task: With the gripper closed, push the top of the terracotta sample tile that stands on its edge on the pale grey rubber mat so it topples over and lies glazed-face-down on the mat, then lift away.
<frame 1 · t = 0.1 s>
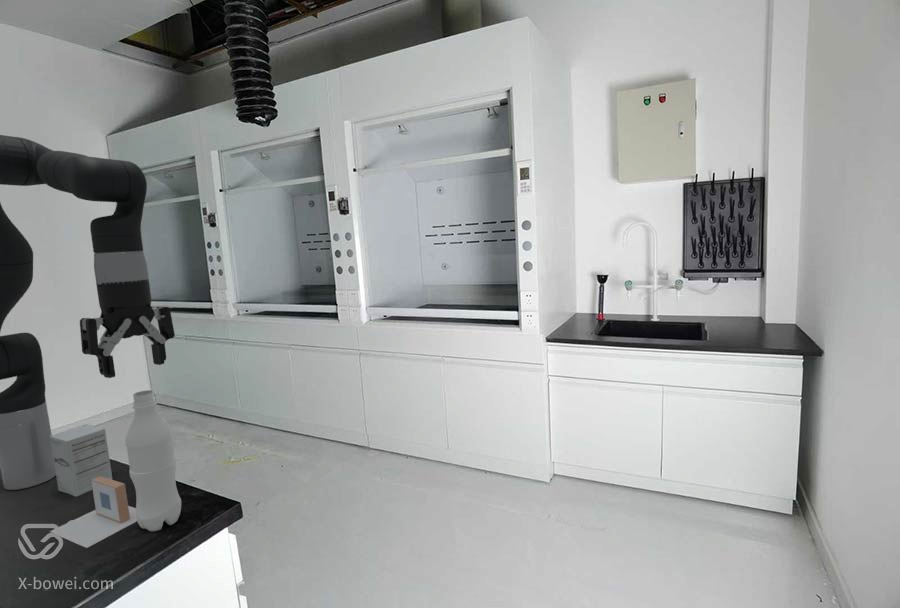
hand: (135, 370, 84), 29 cm above the counter, tool pointing down, fingers open, 8 cm apart
supplement box: (86, 488, 104), on the counter
tile: (113, 516, 91), resting on mat
mat: (101, 524, 89), on the counter
water bottle: (161, 524, 88), on the counter
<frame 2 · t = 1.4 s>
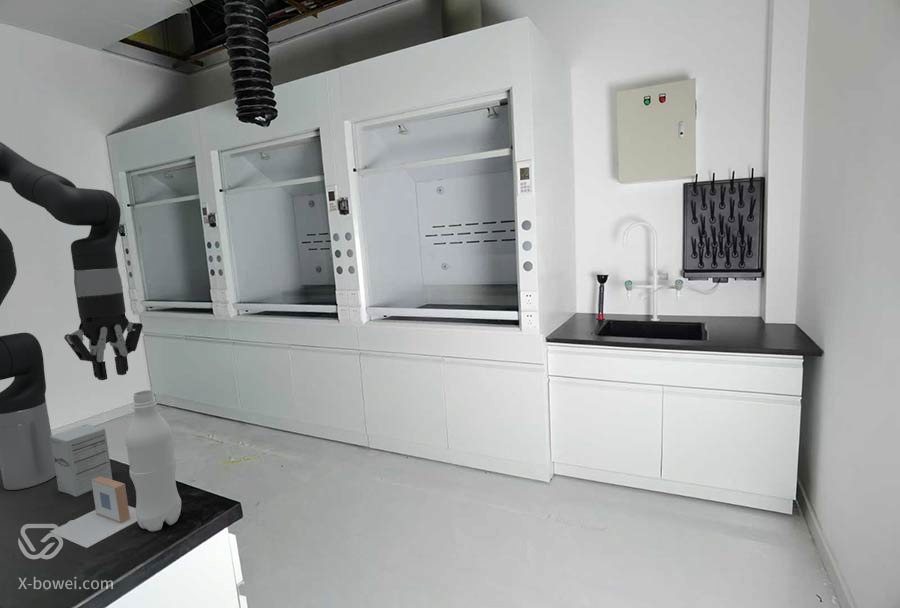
hand: (112, 376, 97), 25 cm above the counter, tool pointing down, fingers open, 3 cm apart
nothing on the counter moved.
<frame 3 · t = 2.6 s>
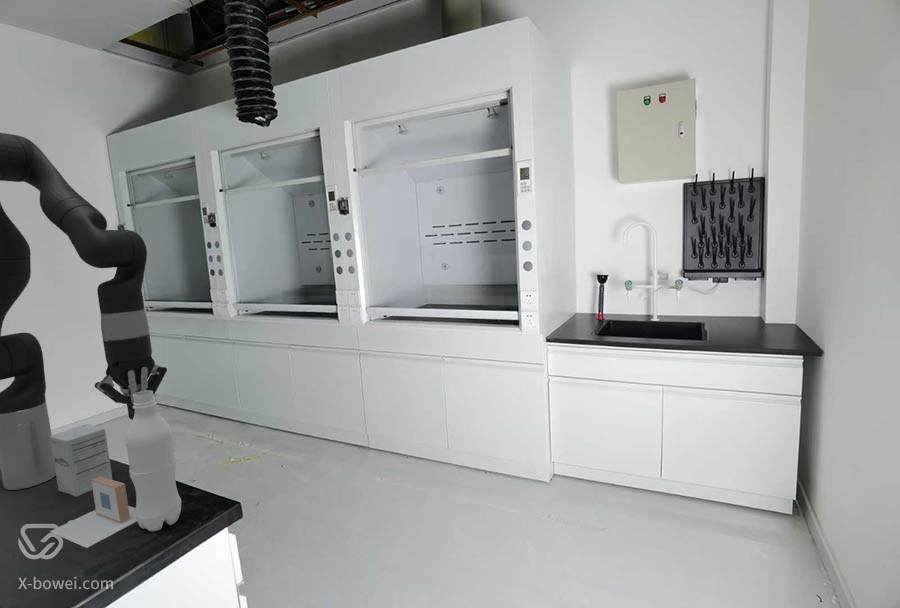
hand: (138, 420, 95), 17 cm above the counter, tool pointing down, fingers closed
nothing on the counter moved.
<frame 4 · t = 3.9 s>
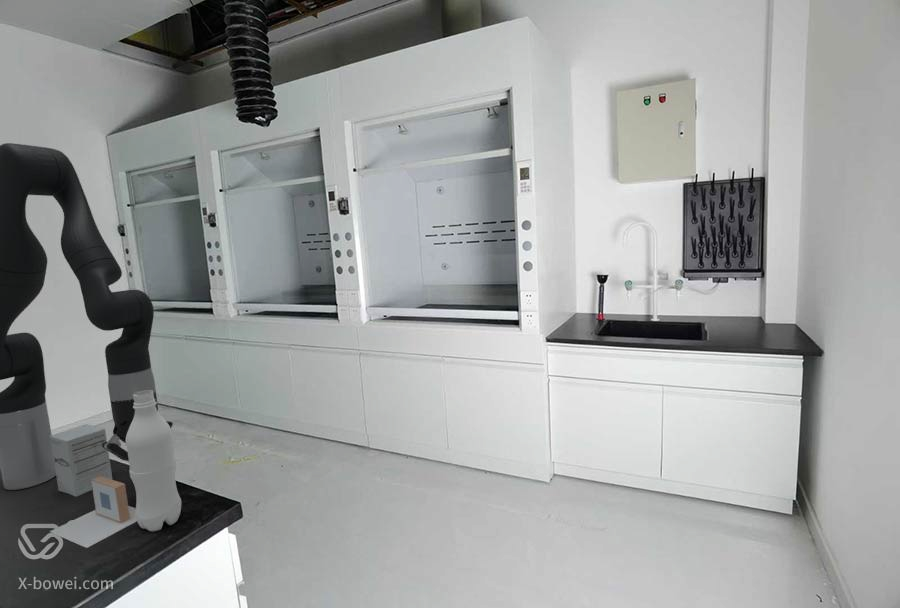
hand: (144, 475, 96), 5 cm above the counter, tool pointing down, fingers closed
nothing on the counter moved.
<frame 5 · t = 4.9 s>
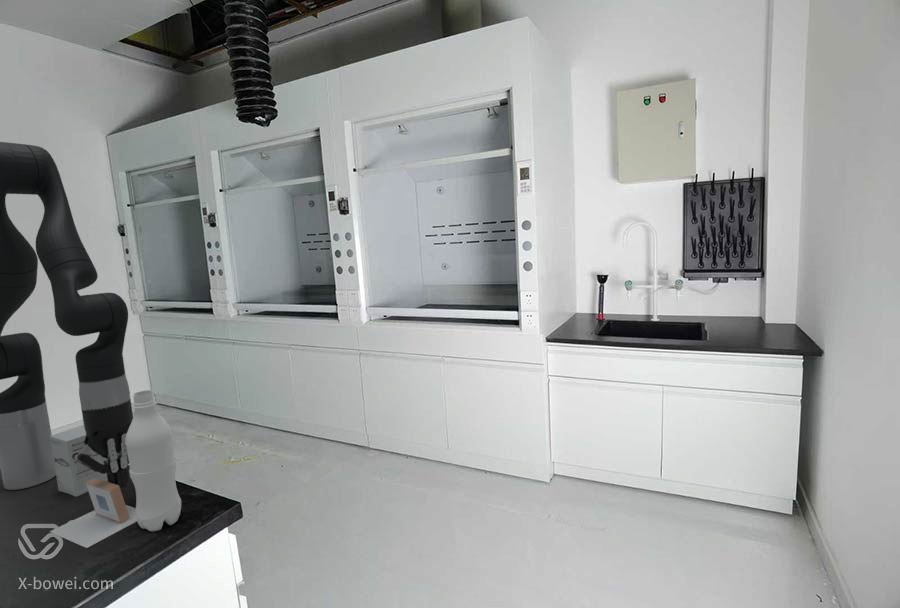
hand: (119, 487, 92), 5 cm above the counter, tool pointing down, fingers closed
tile: (112, 516, 91), point 1 cm above the counter, tilted 8°, touching gripper, mat
everything else where it was.
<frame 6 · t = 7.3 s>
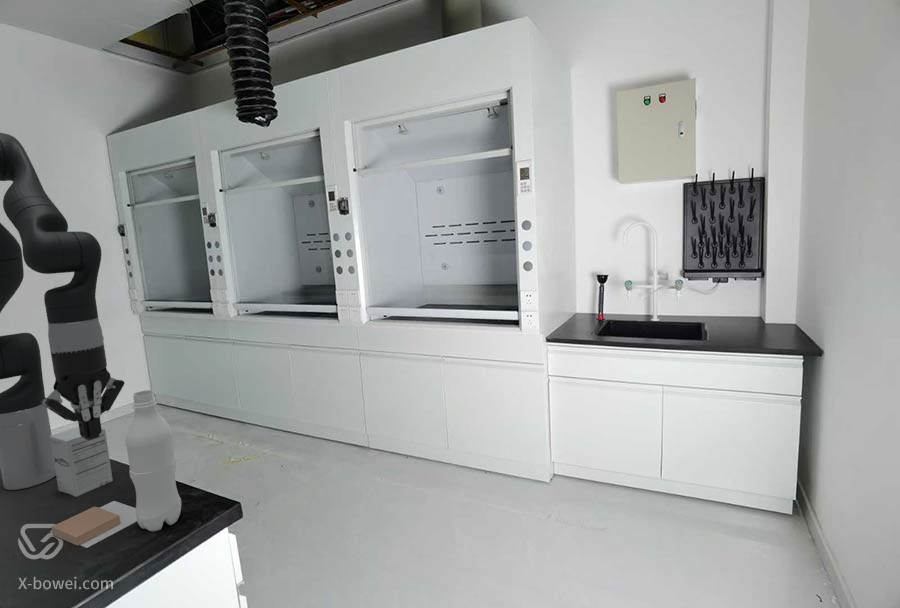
hand: (91, 438, 87), 17 cm above the counter, tool pointing down, fingers closed
tile: (107, 514, 90), point 1 cm above the counter, tilted 90°, touching mat
everything else where it was.
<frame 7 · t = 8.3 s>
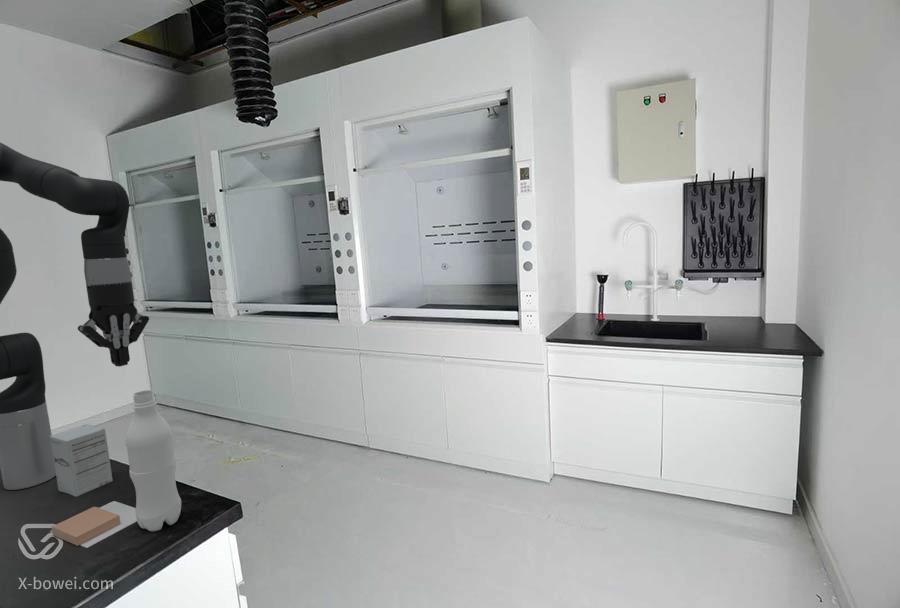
hand: (121, 365, 98), 27 cm above the counter, tool pointing down, fingers closed
nothing on the counter moved.
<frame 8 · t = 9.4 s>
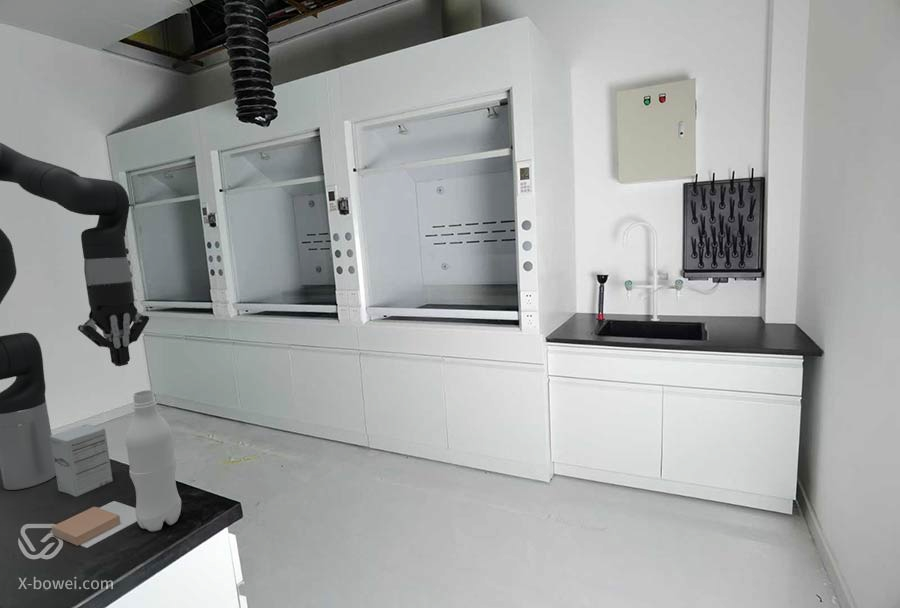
hand: (121, 365, 98), 27 cm above the counter, tool pointing down, fingers closed
nothing on the counter moved.
at the end: tile tilted 90°; tile inside the target area (3.6 cm from its centre), point 1.3 cm above the counter; the gripper is holding nothing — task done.
